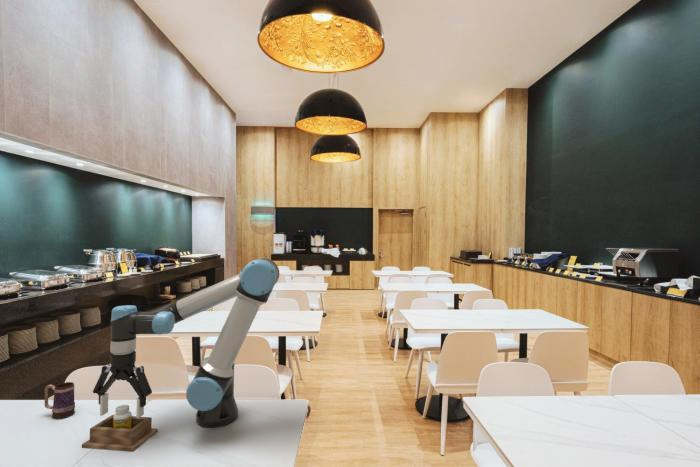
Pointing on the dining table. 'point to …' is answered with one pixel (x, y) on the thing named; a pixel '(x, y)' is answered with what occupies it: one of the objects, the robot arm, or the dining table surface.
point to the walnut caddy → (120, 434)
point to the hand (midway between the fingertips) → (121, 415)
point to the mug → (61, 400)
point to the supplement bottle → (122, 417)
